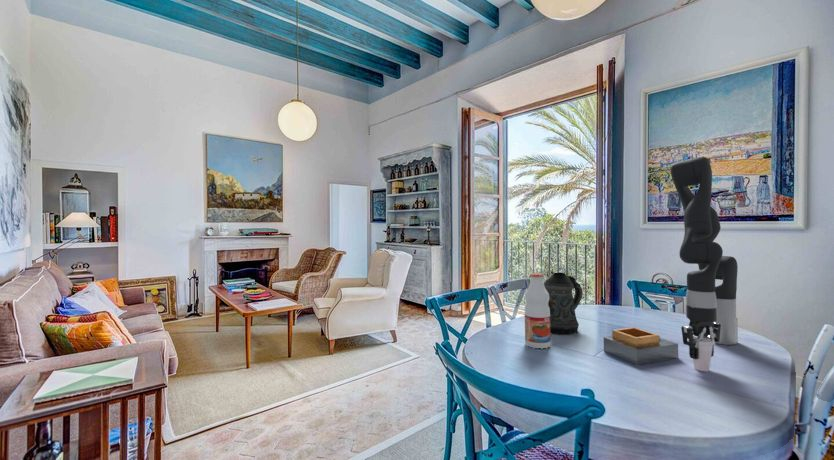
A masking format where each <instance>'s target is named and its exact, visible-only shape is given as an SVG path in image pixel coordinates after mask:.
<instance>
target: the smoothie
mask: <svg viewBox="0 0 834 460" xmlns="http://www.w3.org/2000/svg"><path fill="white" fill-rule="evenodd" d="M693 336H694V335H693ZM694 337H697V336H694ZM693 341H694V343H695V340H694V339H693ZM698 342H699V343H698V344H699V345H698V354H699V358H698V359H693V358H692V361H693V368H694V369H695V370H697V371H699V372H710V368H711V367H710V366H711V362H712V361H711V360H712V357H711V355H712V348H713V345H714V340H713V339H709V338H705V337H703V339H702V341H698ZM714 346H715V345H714Z"/></svg>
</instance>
